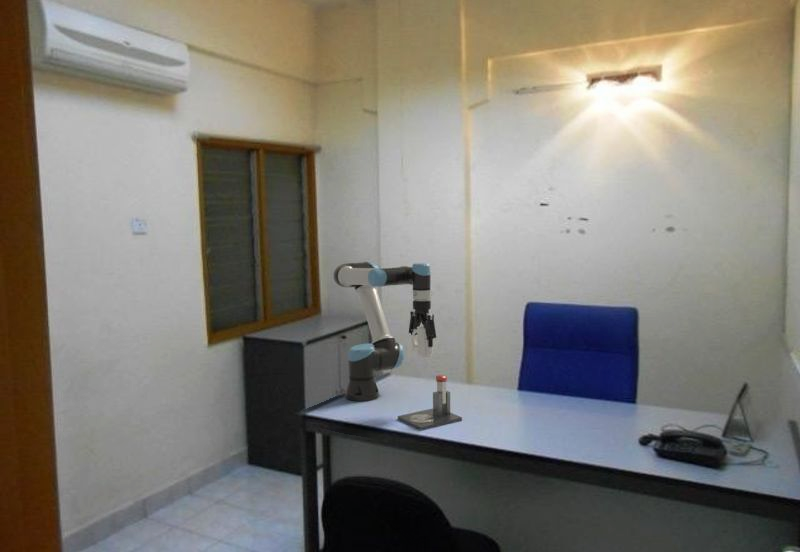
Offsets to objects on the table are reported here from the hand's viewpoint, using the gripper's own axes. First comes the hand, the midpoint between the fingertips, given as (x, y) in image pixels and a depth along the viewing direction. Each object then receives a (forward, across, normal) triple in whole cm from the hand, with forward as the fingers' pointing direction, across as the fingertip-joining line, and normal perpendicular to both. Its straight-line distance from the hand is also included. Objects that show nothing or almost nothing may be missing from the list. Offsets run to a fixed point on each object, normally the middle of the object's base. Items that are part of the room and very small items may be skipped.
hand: (422, 352), depth 255 cm
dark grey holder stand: (+24, +15, -8) cm, 29 cm away
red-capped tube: (+18, +16, -2) cm, 23 cm away
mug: (+1, 0, 0) cm, 1 cm away
